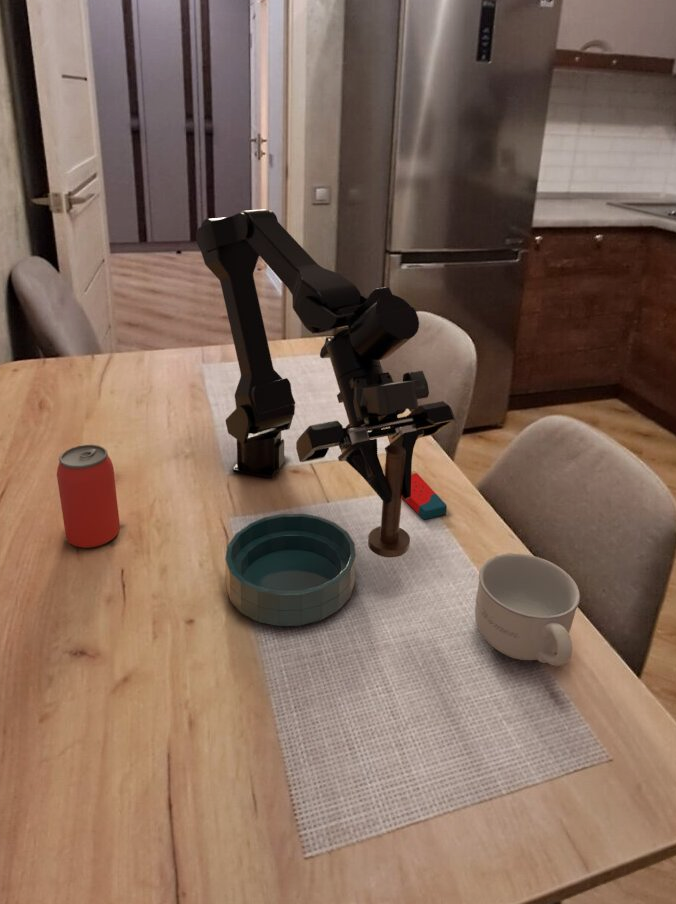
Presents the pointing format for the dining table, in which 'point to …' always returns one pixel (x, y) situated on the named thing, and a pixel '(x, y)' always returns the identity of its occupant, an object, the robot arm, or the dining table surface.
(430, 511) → the popsicle
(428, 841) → the dining table surface
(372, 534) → the wooden peg stand
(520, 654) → the teacup
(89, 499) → the beer can
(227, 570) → the bowl
